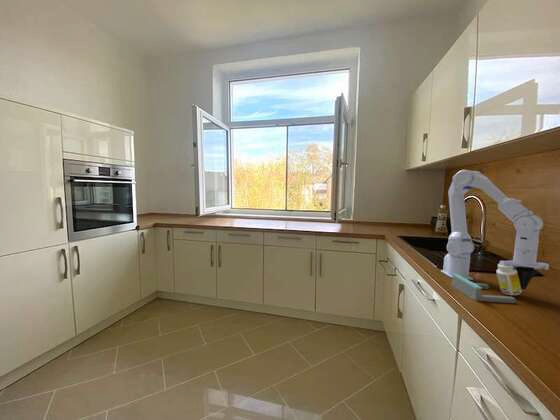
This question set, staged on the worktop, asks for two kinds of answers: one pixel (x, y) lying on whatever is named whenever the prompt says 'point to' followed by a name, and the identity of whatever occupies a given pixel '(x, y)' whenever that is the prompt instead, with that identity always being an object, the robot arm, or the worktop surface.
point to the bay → (477, 290)
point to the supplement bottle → (508, 280)
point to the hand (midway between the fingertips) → (521, 288)
